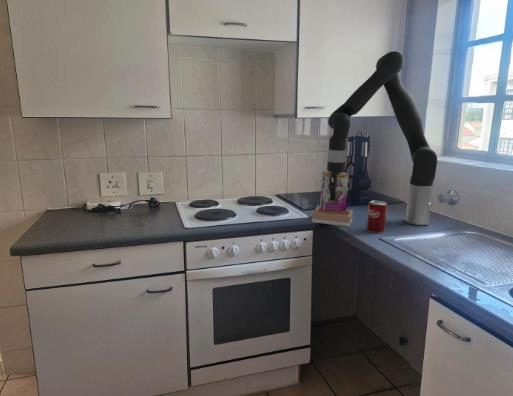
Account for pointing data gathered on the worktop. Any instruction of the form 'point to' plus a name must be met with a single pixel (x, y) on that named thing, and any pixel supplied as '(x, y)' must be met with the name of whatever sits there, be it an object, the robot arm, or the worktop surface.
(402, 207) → the worktop surface
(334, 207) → the candy bar box
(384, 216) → the soda can
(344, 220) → the tan flat open box
